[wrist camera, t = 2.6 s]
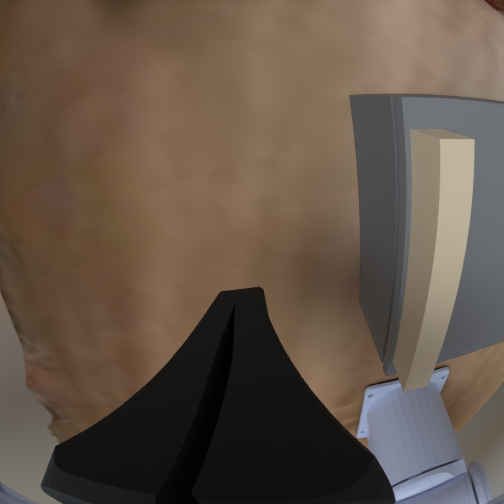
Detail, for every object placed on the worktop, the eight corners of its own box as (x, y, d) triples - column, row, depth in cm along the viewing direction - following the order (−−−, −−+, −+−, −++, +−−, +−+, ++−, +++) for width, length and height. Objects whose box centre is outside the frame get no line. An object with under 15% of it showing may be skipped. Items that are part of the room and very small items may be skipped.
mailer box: (519, 267, 16) (555, 305, 12) (359, 302, 18) (381, 362, 14) (537, 108, 11) (591, 124, 6) (349, 95, 12) (390, 96, 8)
